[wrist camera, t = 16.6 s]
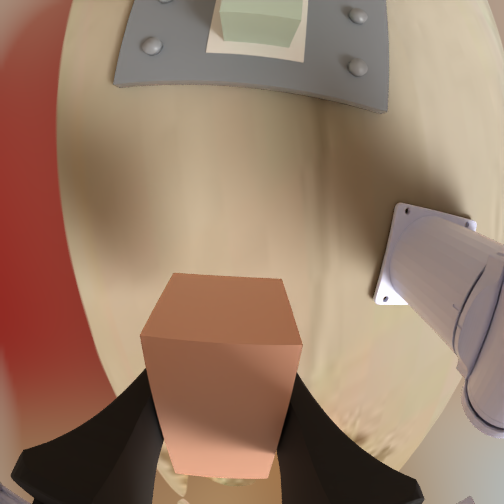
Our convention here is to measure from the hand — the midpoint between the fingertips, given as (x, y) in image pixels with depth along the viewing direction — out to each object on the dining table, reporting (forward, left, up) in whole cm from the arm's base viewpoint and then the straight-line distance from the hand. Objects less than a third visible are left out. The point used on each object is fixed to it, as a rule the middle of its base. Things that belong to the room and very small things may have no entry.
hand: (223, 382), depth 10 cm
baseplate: (0, -20, -10) cm, 22 cm away
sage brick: (0, -20, -9) cm, 22 cm away
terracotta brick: (0, 0, -1) cm, 1 cm away
